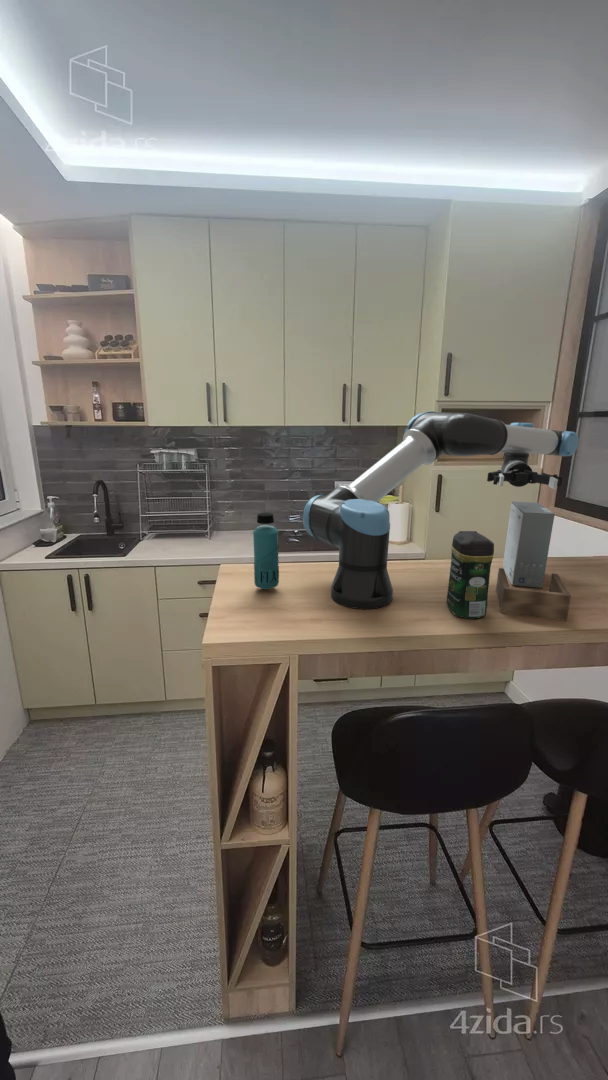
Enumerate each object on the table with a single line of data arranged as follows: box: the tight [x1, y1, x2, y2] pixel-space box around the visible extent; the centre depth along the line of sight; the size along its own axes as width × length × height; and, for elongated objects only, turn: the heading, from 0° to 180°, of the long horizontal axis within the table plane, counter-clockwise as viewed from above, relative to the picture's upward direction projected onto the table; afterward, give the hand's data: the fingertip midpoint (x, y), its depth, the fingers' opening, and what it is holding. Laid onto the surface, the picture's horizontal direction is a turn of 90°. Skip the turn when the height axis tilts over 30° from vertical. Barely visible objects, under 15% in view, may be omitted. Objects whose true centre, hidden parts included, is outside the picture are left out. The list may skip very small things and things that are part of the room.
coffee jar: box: [446, 530, 495, 620], centre depth 104 cm, size 10×8×19 cm
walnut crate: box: [495, 567, 572, 622], centre depth 109 cm, size 13×14×6 cm
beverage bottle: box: [252, 512, 280, 590], centre depth 115 cm, size 6×7×20 cm
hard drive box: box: [502, 501, 556, 589], centre depth 125 cm, size 16×8×20 cm, turn 167°
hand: (528, 482), depth 128 cm, fingers open, 13 cm apart
